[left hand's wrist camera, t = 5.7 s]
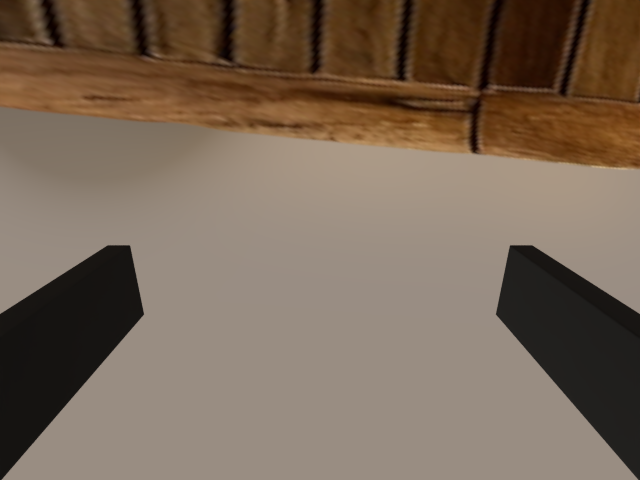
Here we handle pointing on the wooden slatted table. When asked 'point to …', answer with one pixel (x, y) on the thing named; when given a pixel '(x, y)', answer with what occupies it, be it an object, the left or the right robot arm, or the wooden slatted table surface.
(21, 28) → the wooden slatted table surface
